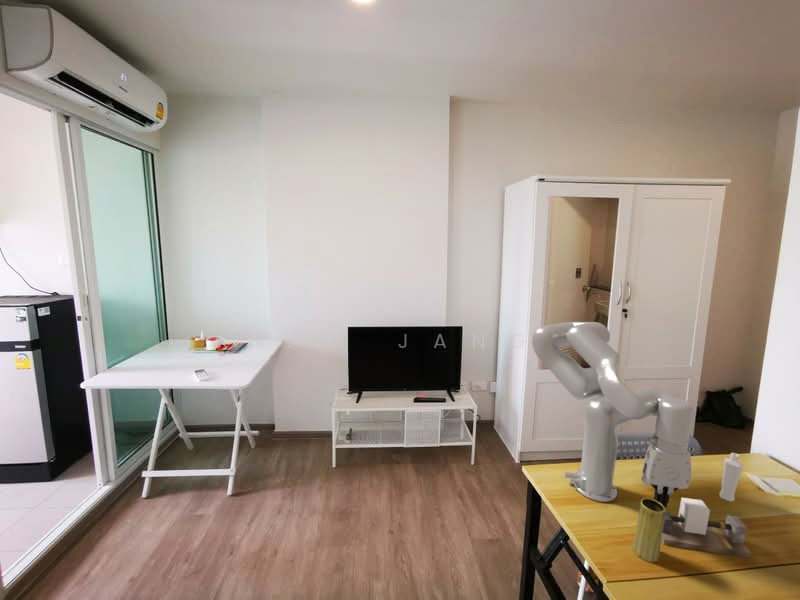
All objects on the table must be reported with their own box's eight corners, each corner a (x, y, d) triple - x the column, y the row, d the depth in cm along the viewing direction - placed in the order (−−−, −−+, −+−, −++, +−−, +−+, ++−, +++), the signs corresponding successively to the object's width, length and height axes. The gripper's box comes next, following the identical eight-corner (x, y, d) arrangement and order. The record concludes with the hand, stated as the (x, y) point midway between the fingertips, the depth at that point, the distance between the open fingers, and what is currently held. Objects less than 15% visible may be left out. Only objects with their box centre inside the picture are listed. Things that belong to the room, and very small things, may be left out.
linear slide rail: (663, 544, 104) (667, 523, 102) (648, 517, 113) (651, 497, 112) (749, 558, 100) (754, 536, 98) (726, 528, 109) (730, 508, 108)
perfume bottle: (713, 492, 124) (721, 450, 121) (725, 492, 124) (734, 450, 122) (726, 502, 120) (734, 459, 117) (739, 502, 120) (748, 458, 117)
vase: (659, 566, 97) (667, 517, 94) (631, 555, 100) (638, 507, 97) (658, 549, 102) (666, 502, 99) (632, 539, 105) (638, 493, 102)
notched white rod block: (684, 531, 105) (688, 507, 103) (677, 520, 109) (681, 497, 107) (705, 534, 104) (710, 510, 102) (697, 523, 108) (701, 500, 106)
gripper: (644, 448, 101) (636, 509, 105) (709, 455, 98) (698, 518, 102) (634, 433, 108) (626, 491, 112) (694, 439, 105) (683, 498, 109)
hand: (660, 503), depth 107 cm, fingers closed
